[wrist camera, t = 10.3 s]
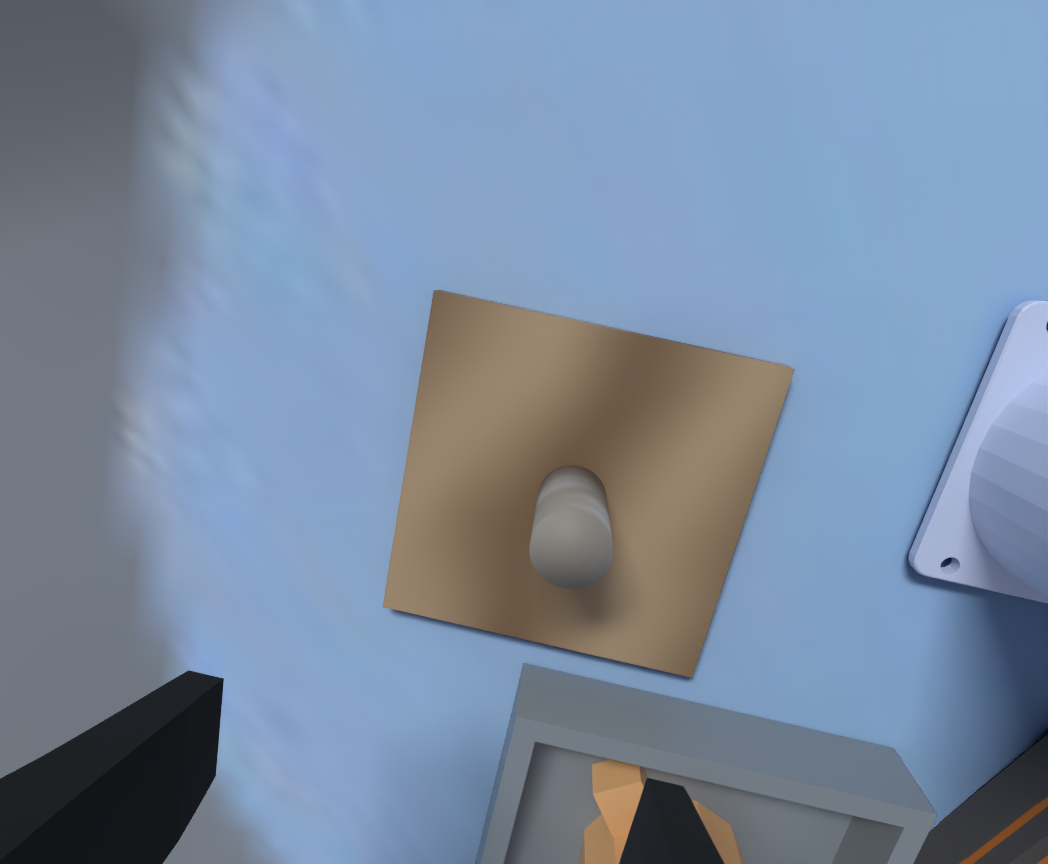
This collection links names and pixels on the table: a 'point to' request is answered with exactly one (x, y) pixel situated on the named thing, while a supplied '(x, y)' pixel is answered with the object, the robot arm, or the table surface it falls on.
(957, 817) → the electronic device
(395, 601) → the tan square plate
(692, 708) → the tray
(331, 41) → the table surface
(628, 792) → the ring
